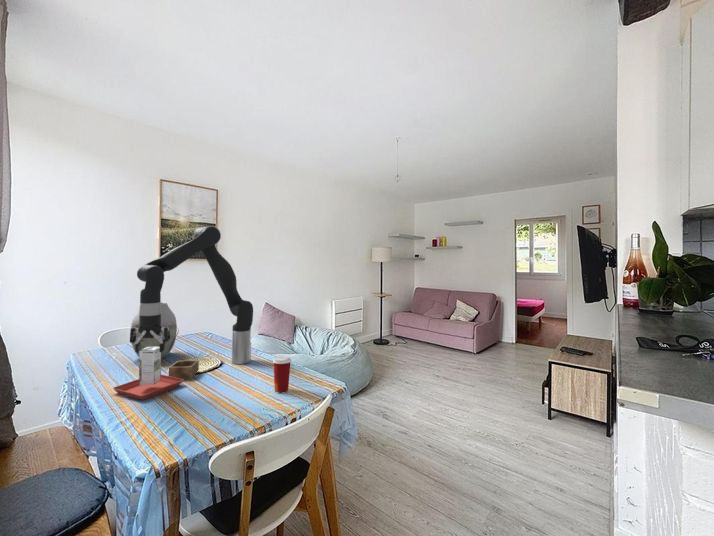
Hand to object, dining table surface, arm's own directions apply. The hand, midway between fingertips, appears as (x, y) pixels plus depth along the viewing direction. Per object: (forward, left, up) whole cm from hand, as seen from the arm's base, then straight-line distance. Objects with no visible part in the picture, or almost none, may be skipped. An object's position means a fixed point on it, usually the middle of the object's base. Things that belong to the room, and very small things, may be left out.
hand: (150, 352), depth 127 cm
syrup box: (0, 0, -13) cm, 13 cm away
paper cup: (-54, +7, -16) cm, 57 cm away
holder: (-8, -15, -16) cm, 23 cm away
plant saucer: (0, 0, -17) cm, 17 cm away
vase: (+18, -45, -16) cm, 51 cm away
